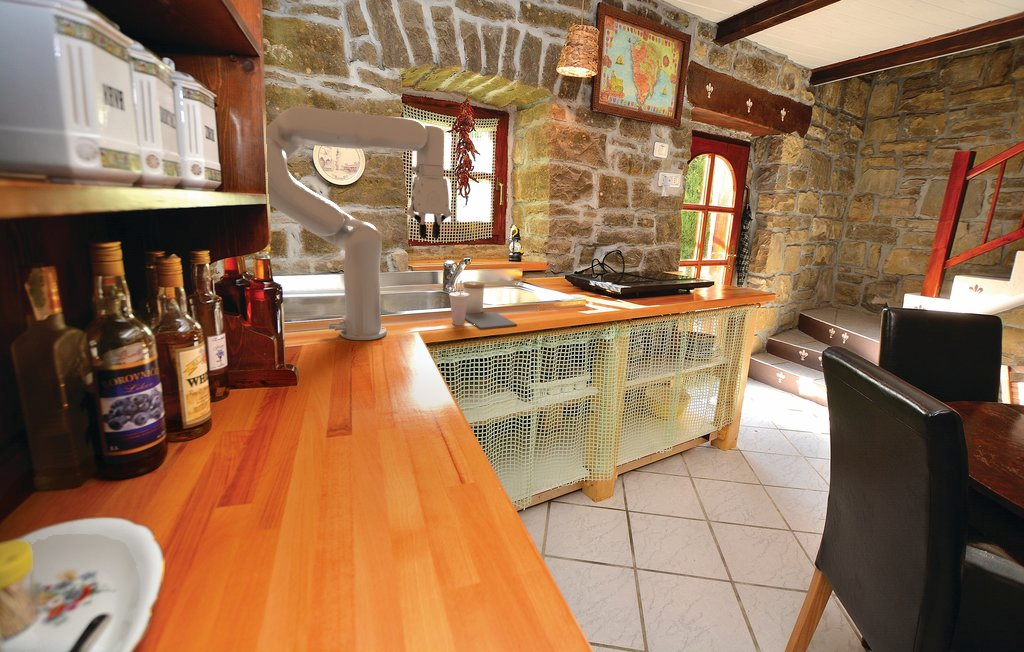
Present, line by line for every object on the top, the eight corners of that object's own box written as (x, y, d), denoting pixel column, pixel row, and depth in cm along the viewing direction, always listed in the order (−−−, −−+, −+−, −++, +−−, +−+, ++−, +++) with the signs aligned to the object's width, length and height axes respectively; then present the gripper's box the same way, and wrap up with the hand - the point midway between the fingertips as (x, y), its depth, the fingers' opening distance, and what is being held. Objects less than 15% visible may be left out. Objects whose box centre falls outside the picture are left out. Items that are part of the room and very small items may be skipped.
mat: (480, 329, 148) (480, 327, 148) (460, 316, 162) (460, 314, 161) (516, 325, 155) (517, 324, 154) (494, 313, 168) (494, 311, 168)
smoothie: (458, 327, 149) (460, 283, 145) (444, 323, 152) (444, 279, 149) (472, 323, 154) (474, 280, 150) (458, 319, 157) (459, 277, 153)
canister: (467, 314, 164) (468, 286, 162) (458, 309, 170) (459, 281, 168) (486, 313, 168) (488, 285, 165) (477, 308, 174) (478, 280, 171)
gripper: (405, 170, 129) (405, 239, 134) (462, 174, 136) (460, 239, 142) (397, 170, 135) (398, 236, 140) (452, 174, 143) (450, 236, 148)
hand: (429, 237), depth 141 cm, fingers open, 3 cm apart
